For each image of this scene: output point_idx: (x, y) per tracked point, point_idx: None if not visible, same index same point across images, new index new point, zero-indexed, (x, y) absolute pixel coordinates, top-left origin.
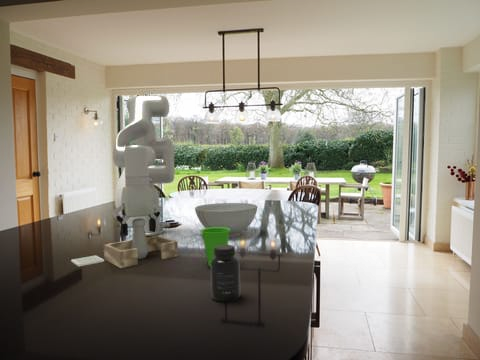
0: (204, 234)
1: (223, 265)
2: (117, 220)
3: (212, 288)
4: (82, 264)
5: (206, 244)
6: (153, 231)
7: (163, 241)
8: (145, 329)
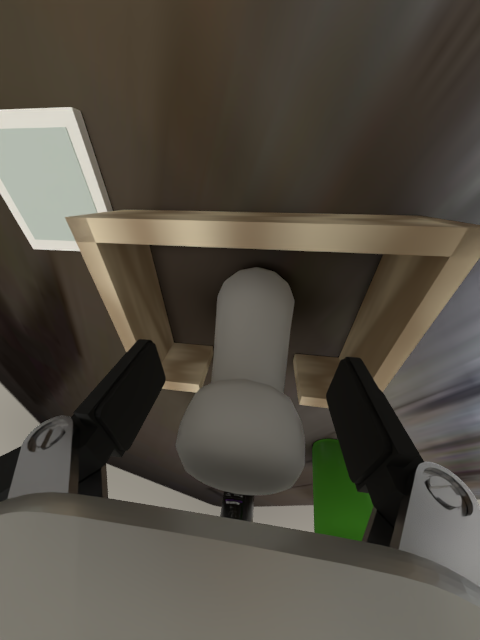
0: None
1: None
2: (5, 456)
3: (224, 492)
4: (47, 249)
5: (314, 503)
6: (329, 396)
7: (387, 331)
8: (155, 471)
